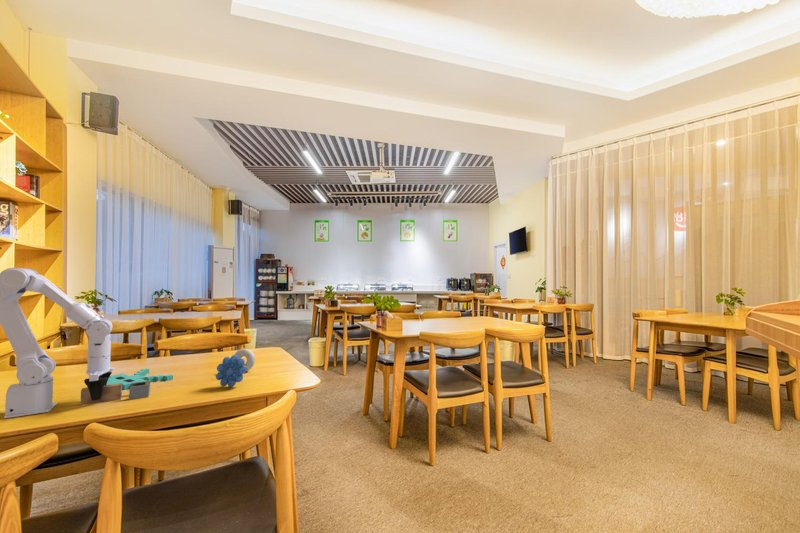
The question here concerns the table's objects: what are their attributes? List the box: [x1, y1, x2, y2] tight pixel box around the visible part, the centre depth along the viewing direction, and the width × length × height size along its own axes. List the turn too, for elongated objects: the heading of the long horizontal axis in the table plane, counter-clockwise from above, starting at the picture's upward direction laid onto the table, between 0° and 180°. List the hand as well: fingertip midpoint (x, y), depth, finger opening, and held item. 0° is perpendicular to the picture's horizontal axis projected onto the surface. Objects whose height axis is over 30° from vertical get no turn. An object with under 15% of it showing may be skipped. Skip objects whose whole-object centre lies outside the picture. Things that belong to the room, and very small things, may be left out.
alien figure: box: [107, 368, 174, 391], centre depth 132 cm, size 20×2×20 cm
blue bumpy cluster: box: [215, 354, 247, 388], centre depth 129 cm, size 12×7×12 cm, turn 87°
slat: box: [80, 383, 123, 406], centre depth 112 cm, size 10×2×5 cm, turn 122°
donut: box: [234, 347, 256, 372], centre depth 149 cm, size 10×3×10 cm, turn 80°
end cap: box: [128, 381, 151, 400], centre depth 118 cm, size 5×6×4 cm
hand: (97, 397), depth 112 cm, fingers open, 4 cm apart
